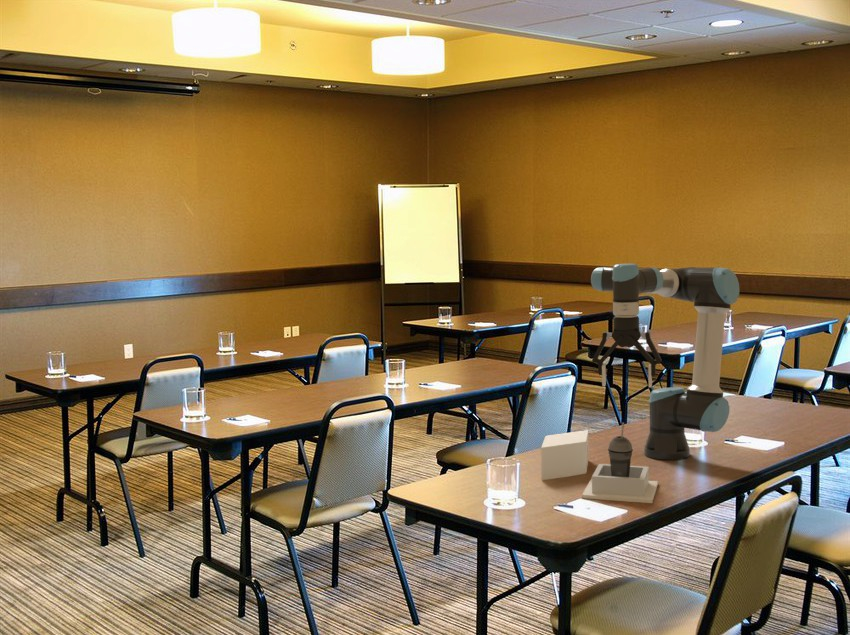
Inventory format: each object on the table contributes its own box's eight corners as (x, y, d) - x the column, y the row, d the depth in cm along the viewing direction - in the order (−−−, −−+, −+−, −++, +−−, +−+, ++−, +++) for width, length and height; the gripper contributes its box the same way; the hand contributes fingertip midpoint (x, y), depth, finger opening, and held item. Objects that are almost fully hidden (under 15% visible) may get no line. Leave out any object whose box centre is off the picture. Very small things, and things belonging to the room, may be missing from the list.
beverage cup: (620, 483, 285) (620, 418, 283) (638, 488, 279) (638, 422, 277) (602, 487, 281) (602, 421, 279) (619, 492, 275) (619, 425, 273)
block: (608, 464, 312) (608, 432, 311) (562, 484, 289) (562, 450, 288) (568, 457, 321) (568, 427, 320) (521, 477, 298) (520, 444, 297)
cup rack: (592, 480, 292) (592, 461, 292) (657, 484, 286) (657, 465, 286) (582, 498, 274) (582, 478, 273) (652, 503, 267) (652, 482, 267)
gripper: (582, 317, 279) (583, 387, 281) (668, 317, 271) (669, 389, 273) (585, 314, 286) (587, 382, 288) (670, 314, 278) (670, 384, 280)
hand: (627, 386), depth 281 cm, fingers open, 13 cm apart
